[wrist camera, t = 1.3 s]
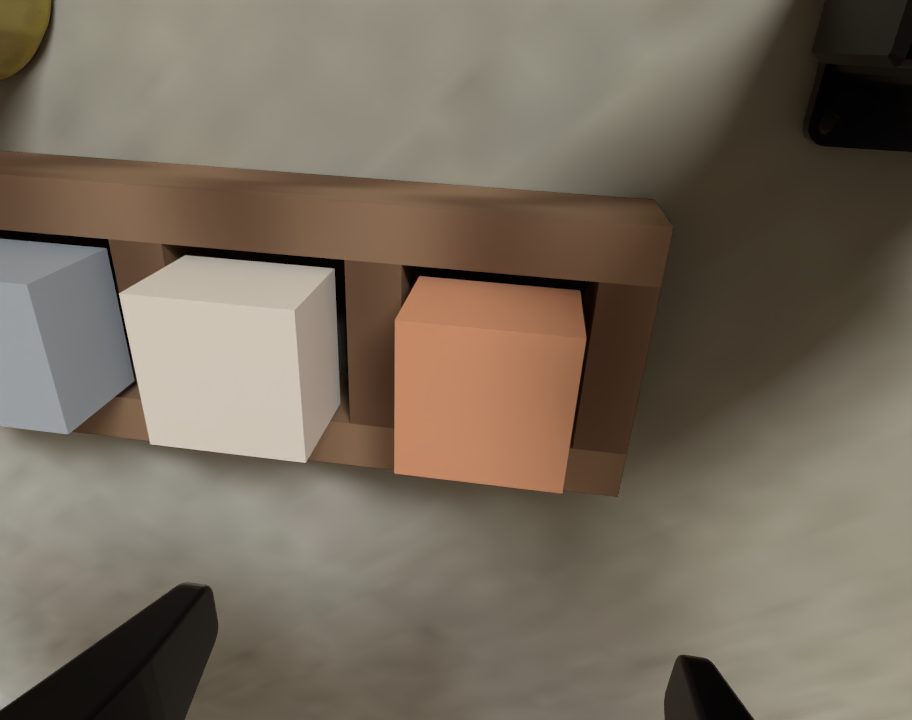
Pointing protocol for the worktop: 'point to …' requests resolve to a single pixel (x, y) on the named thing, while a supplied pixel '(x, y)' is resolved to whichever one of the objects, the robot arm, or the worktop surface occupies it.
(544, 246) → the three-slot wooden rack
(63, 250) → the grey cube
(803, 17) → the worktop surface
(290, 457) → the cream cube block
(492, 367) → the terracotta cube block
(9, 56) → the vase
